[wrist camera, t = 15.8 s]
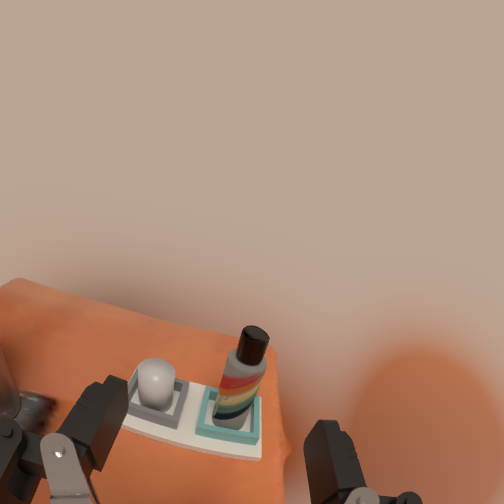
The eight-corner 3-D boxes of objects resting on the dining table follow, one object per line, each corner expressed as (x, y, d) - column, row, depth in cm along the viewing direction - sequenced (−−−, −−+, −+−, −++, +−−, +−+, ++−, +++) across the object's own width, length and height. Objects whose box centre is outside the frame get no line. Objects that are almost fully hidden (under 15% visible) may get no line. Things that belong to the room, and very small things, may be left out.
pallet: (109, 423, 33) (103, 387, 30) (137, 370, 47) (138, 334, 45) (258, 461, 34) (276, 432, 31) (259, 401, 48) (272, 368, 46)
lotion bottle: (207, 410, 41) (229, 319, 36) (237, 407, 44) (267, 319, 38) (216, 435, 36) (244, 345, 31) (248, 430, 39) (285, 342, 33)
